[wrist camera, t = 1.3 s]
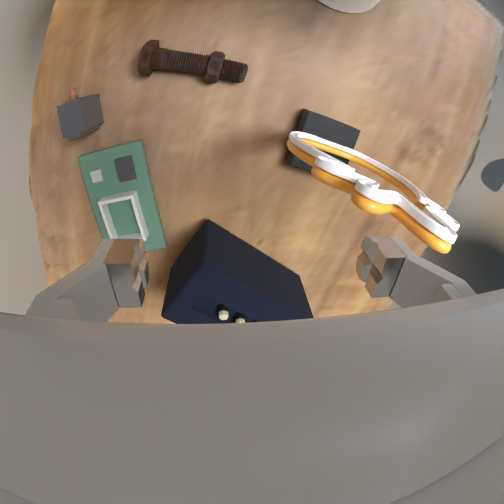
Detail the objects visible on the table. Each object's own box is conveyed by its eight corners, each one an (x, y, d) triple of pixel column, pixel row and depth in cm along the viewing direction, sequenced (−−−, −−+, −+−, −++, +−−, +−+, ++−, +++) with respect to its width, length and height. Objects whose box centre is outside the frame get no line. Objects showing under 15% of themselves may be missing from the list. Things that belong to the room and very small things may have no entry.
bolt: (242, 78, 38) (148, 63, 34) (251, 52, 34) (152, 36, 30) (239, 97, 35) (136, 80, 32) (249, 68, 31) (138, 50, 27)
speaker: (171, 263, 54) (159, 321, 41) (208, 214, 49) (202, 266, 36) (258, 309, 62) (266, 365, 50) (298, 270, 57) (317, 326, 45)
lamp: (262, 152, 43) (321, 282, 17) (278, 100, 39) (384, 146, 12) (352, 179, 47) (466, 304, 21) (370, 134, 42) (515, 225, 16)
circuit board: (80, 156, 40) (72, 161, 37) (142, 139, 40) (136, 143, 38) (111, 252, 51) (106, 261, 48) (167, 245, 51) (164, 254, 49)
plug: (76, 90, 33) (54, 94, 28) (97, 82, 33) (76, 84, 28) (84, 133, 38) (64, 142, 32) (104, 126, 38) (86, 135, 32)
